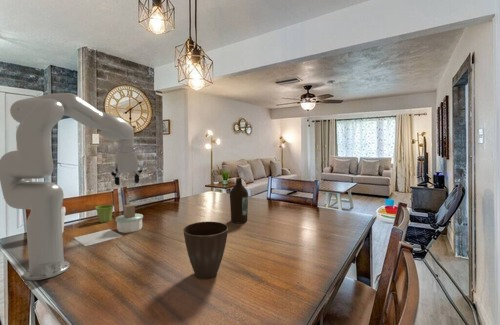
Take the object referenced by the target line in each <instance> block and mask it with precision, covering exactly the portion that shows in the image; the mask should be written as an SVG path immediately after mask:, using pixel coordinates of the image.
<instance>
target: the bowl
mask: <svg viewBox="0 0 500 325" xmlns="http://www.w3.org/2000/svg"><path fill="white" fill-rule="evenodd" d="M142 227H143V218H142V219H141V220H138V221H134V222H125V223H121V222H116V231H118V232H119V233H122V234H123V233H133V232H136V231H137V232H138V231H139V230H142Z"/></svg>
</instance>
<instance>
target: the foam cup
mask: <svg viewBox="0 0 500 325" xmlns="http://www.w3.org/2000/svg"><path fill="white" fill-rule="evenodd" d="M65 219H66V206H62V209H61V223H62V234H63V233H64V228H65Z"/></svg>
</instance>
